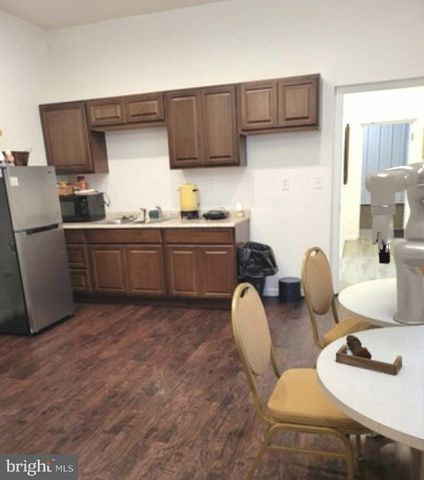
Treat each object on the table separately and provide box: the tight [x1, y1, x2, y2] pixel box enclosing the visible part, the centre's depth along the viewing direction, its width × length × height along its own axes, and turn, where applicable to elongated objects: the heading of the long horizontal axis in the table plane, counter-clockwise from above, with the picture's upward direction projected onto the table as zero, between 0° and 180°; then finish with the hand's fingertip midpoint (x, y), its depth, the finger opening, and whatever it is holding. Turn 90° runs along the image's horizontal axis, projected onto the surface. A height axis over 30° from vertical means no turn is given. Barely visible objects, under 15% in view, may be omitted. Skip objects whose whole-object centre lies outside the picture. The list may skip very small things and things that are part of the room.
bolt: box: [345, 334, 373, 360], centre depth 128 cm, size 6×5×15 cm
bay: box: [335, 344, 403, 376], centre depth 121 cm, size 7×18×3 cm, turn 52°
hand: (384, 263), depth 129 cm, fingers closed
